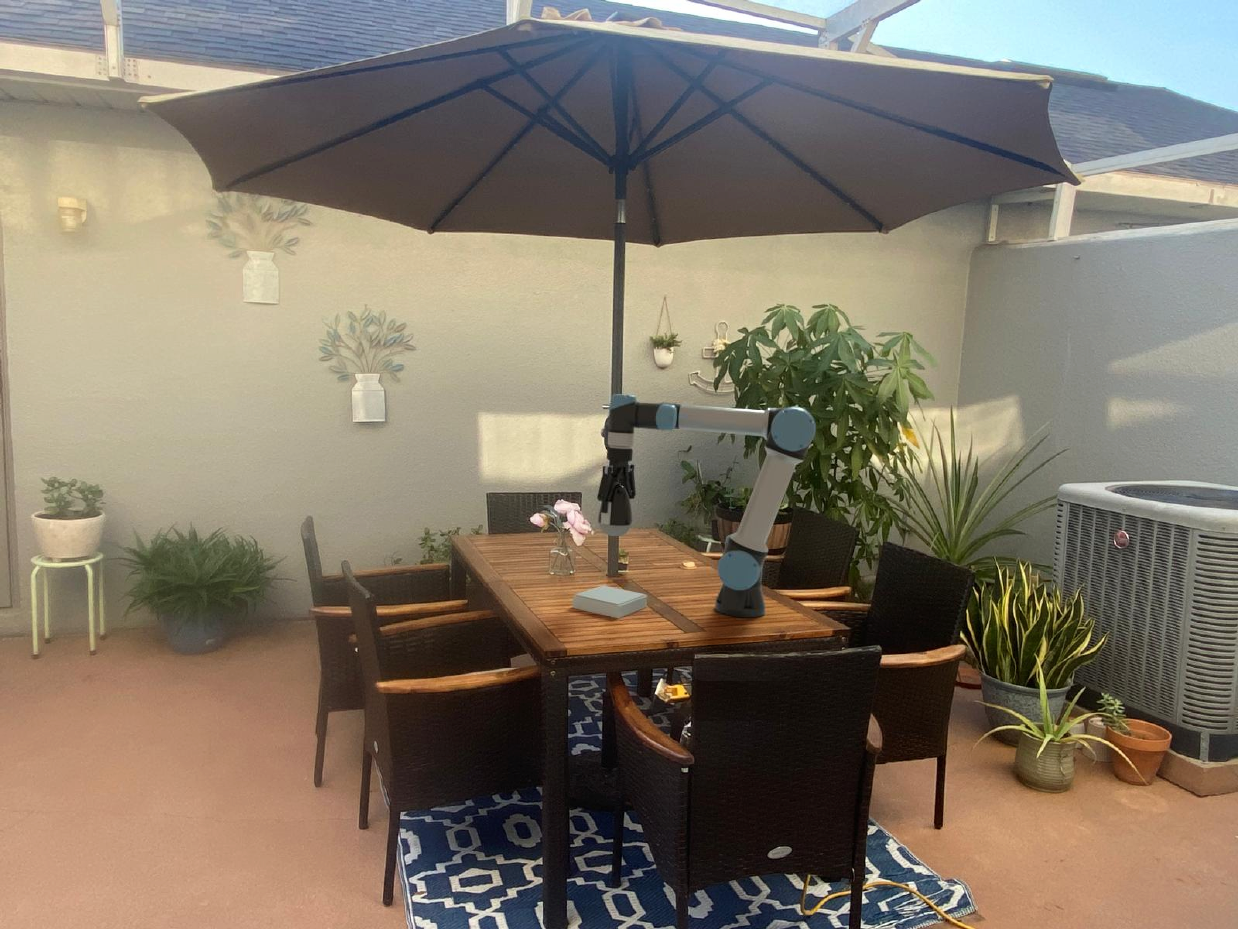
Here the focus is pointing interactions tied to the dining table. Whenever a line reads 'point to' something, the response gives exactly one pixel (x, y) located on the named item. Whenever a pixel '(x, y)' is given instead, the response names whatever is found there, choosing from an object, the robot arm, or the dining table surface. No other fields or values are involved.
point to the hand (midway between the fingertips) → (615, 521)
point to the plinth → (610, 601)
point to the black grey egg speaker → (618, 513)
